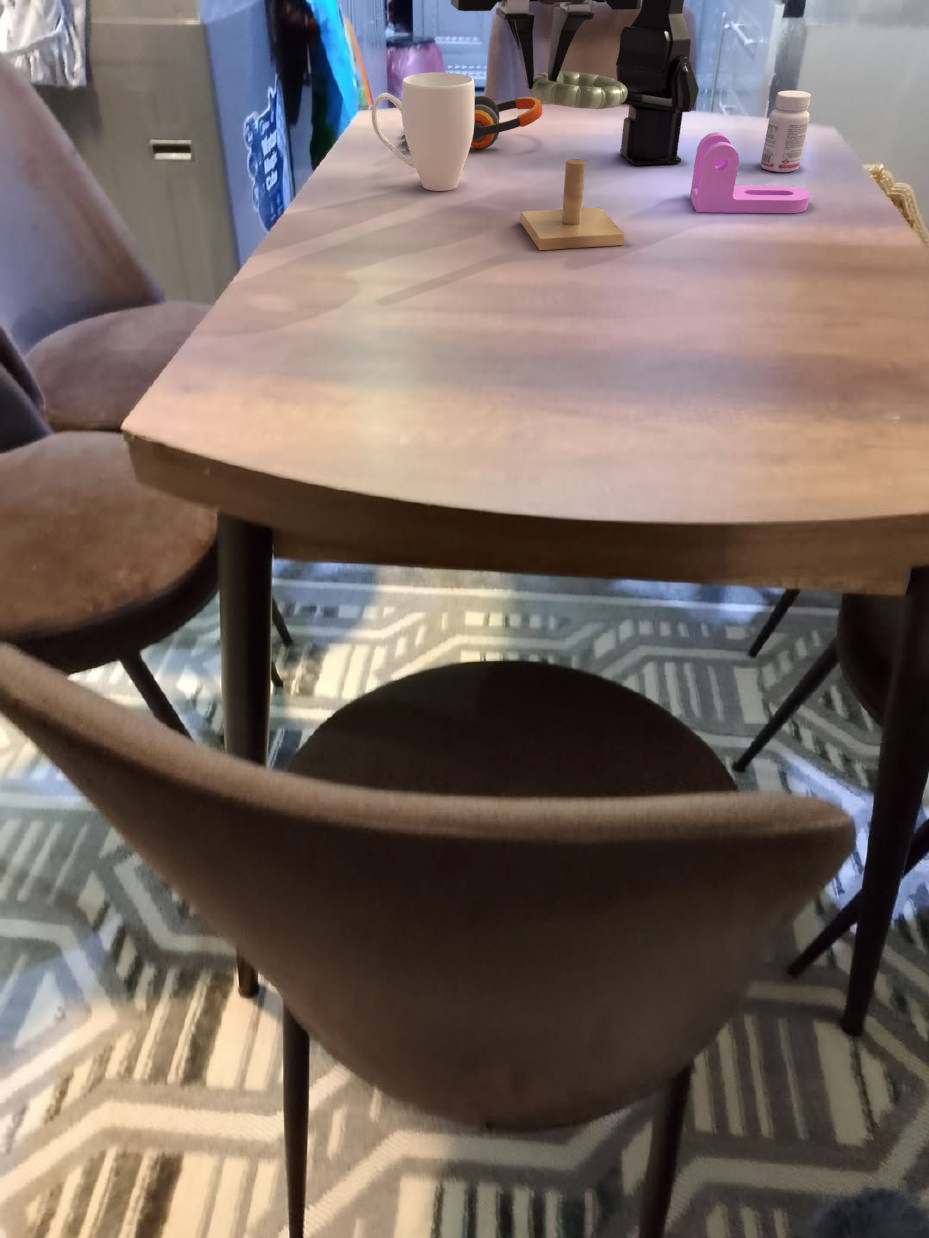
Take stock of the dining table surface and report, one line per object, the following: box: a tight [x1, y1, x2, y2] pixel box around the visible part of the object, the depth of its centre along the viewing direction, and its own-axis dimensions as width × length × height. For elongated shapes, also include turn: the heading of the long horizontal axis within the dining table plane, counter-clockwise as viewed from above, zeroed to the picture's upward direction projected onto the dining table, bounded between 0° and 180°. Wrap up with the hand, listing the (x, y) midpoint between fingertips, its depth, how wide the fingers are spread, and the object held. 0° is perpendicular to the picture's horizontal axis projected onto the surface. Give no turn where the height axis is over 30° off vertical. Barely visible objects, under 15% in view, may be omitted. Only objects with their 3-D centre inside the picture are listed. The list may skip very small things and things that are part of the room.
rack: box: [520, 158, 625, 251], centre depth 95 cm, size 9×9×7 cm
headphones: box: [401, 94, 543, 152], centre depth 125 cm, size 17×5×20 cm
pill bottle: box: [760, 90, 812, 173], centre depth 114 cm, size 5×5×8 cm
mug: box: [371, 71, 476, 192], centre depth 107 cm, size 12×8×11 cm
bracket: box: [689, 131, 811, 214], centre depth 103 cm, size 13×6×7 cm, turn 87°
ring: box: [528, 70, 627, 110], centre depth 98 cm, size 10×10×2 cm
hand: (540, 88), depth 98 cm, fingers closed on ring, 2 cm apart
